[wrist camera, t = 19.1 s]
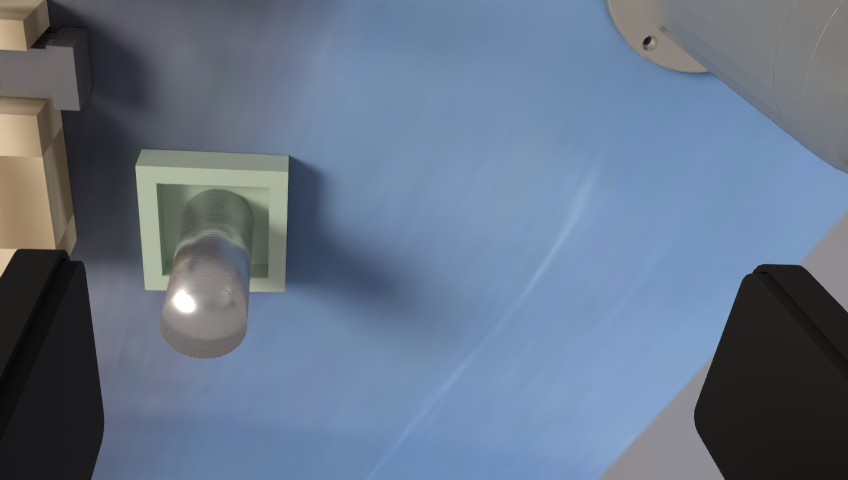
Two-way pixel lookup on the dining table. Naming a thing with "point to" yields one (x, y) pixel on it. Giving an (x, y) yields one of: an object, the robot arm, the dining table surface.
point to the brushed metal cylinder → (210, 276)
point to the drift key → (50, 69)
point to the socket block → (31, 152)
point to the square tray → (199, 171)
